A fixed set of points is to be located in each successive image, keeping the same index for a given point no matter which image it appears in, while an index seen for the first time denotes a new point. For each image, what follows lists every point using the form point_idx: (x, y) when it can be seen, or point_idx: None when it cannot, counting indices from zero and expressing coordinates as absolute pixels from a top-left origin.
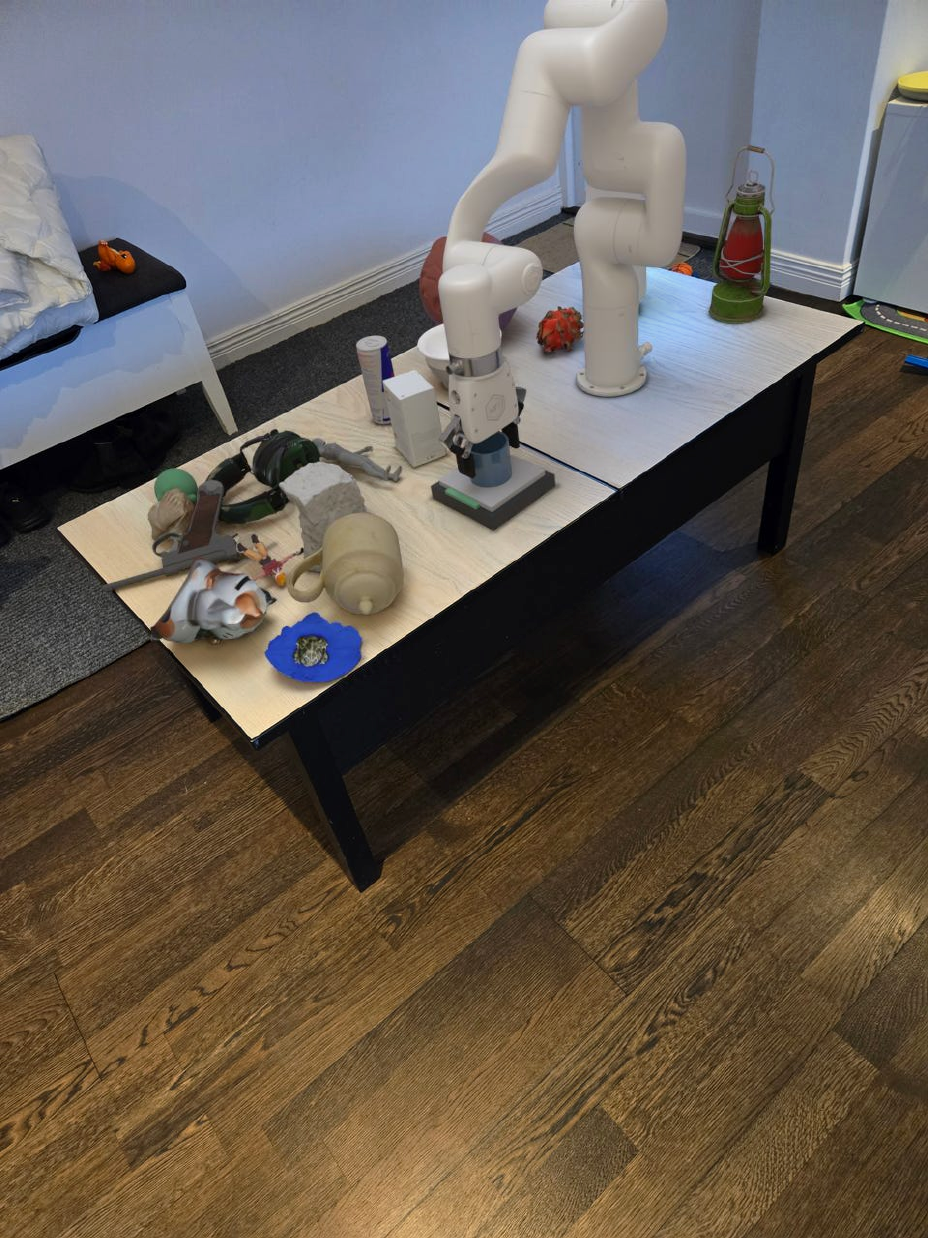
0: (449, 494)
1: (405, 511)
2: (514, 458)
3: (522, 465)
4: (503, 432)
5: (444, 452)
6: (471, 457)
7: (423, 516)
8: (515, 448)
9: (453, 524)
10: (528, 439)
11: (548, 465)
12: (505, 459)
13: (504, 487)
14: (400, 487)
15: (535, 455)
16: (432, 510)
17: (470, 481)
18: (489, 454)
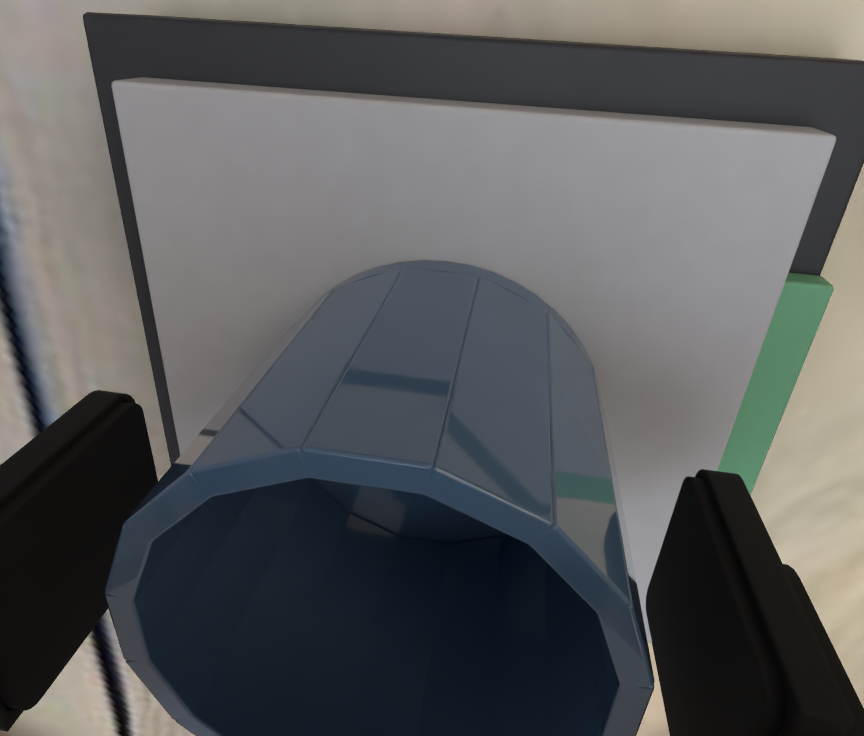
0: None
1: (825, 622)
2: (189, 386)
3: (205, 287)
4: (94, 602)
5: None
6: (818, 694)
7: (837, 536)
8: (141, 407)
9: (857, 358)
10: (7, 452)
11: (51, 223)
12: (374, 356)
13: (511, 227)
14: (652, 712)
15: (54, 347)
16: (764, 525)
17: None
18: (566, 536)
